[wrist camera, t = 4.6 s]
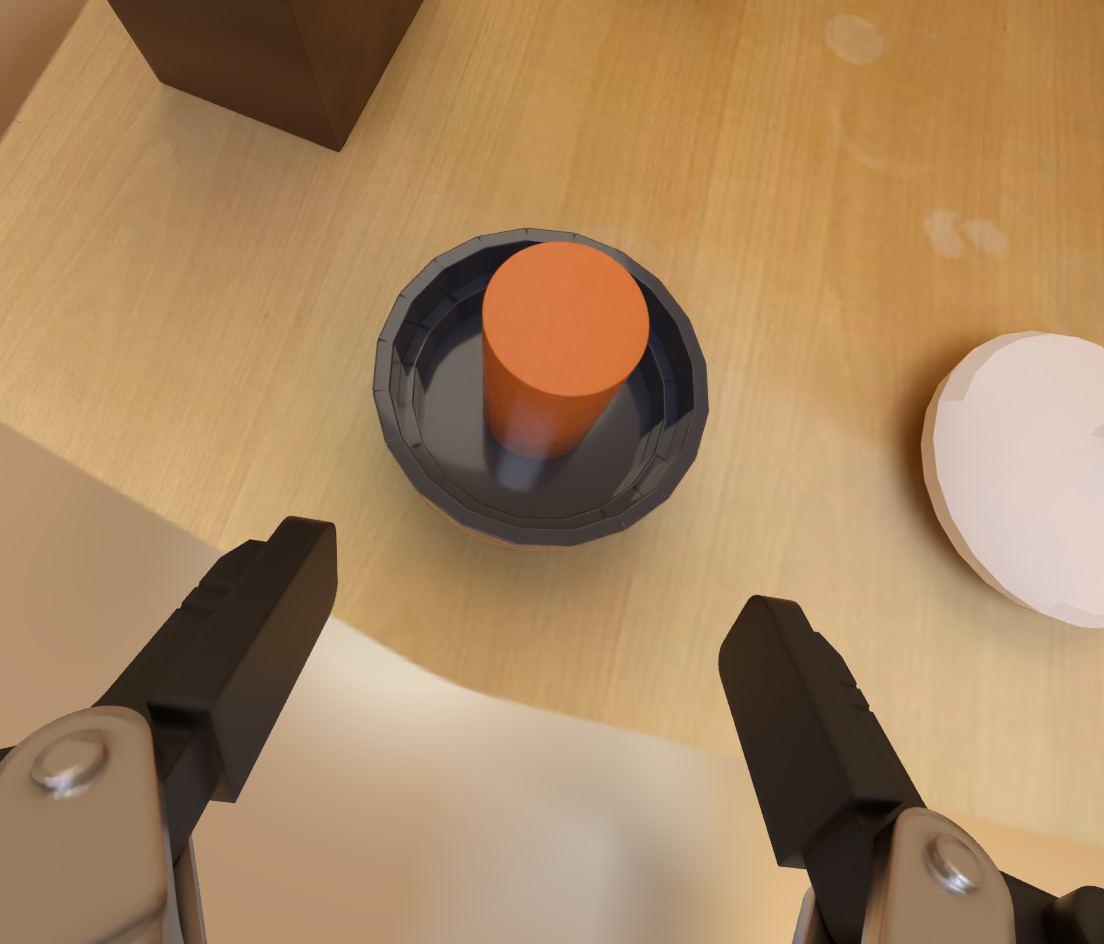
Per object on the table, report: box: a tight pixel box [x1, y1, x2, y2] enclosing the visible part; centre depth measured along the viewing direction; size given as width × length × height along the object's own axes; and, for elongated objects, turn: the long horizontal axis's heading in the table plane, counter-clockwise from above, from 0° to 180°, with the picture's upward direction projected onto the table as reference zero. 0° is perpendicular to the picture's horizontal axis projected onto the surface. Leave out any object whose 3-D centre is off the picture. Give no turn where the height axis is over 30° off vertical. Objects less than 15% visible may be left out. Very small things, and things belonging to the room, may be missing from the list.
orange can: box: [482, 241, 649, 460], centre depth 21 cm, size 6×6×9 cm
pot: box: [372, 228, 709, 551], centre depth 24 cm, size 14×14×4 cm
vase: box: [921, 331, 1104, 628], centre depth 25 cm, size 16×16×7 cm
